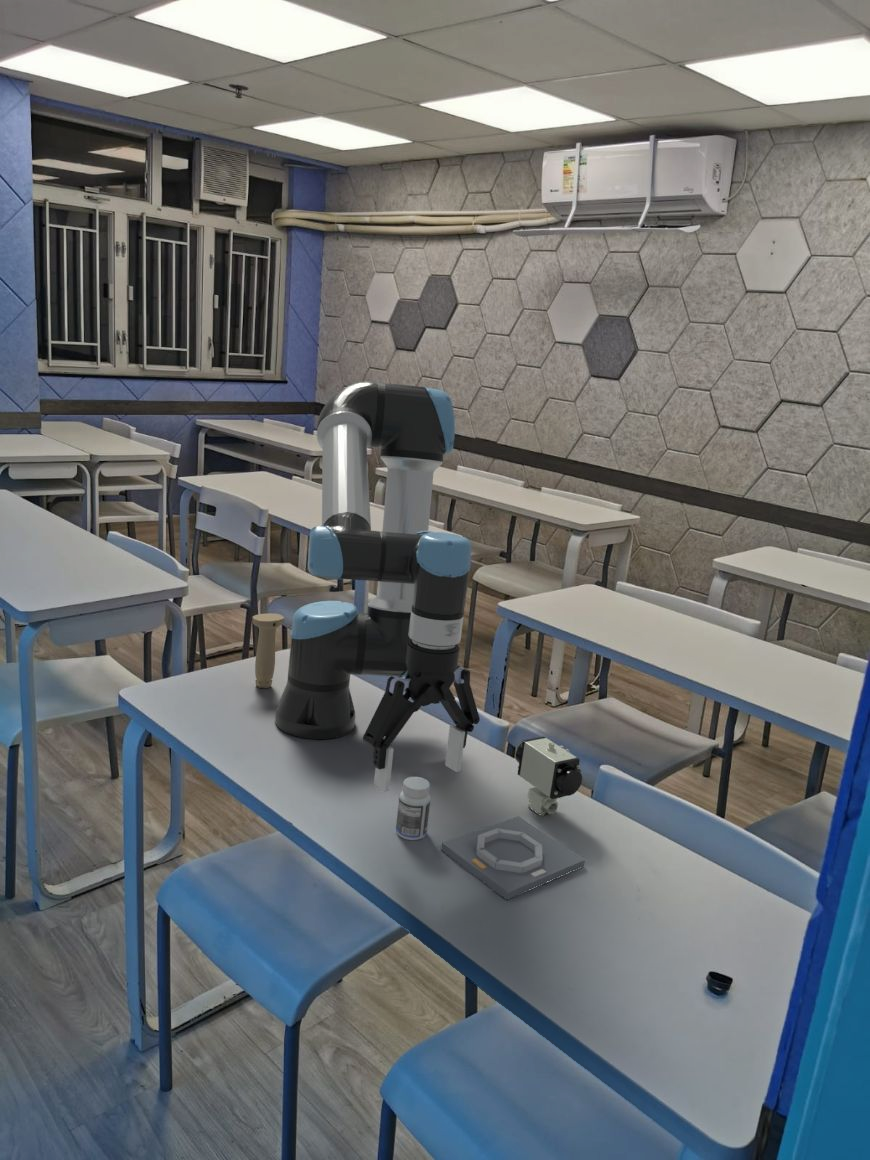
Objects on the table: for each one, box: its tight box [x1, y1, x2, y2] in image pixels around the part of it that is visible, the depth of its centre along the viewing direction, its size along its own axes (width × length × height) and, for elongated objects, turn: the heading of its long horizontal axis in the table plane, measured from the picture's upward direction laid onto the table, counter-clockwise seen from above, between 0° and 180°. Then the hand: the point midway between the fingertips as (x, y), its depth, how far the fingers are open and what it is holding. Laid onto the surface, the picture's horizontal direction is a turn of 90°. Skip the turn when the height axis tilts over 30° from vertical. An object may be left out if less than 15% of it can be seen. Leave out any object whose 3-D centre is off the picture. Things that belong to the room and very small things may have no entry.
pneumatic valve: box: [515, 736, 583, 815], centre depth 143 cm, size 6×12×12 cm, turn 33°
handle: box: [252, 612, 285, 689], centre depth 180 cm, size 5×6×15 cm
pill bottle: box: [395, 776, 431, 841], centre depth 132 cm, size 5×5×8 cm
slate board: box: [440, 815, 586, 900], centre depth 129 cm, size 14×16×2 cm
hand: (418, 777), depth 130 cm, fingers open, 13 cm apart
